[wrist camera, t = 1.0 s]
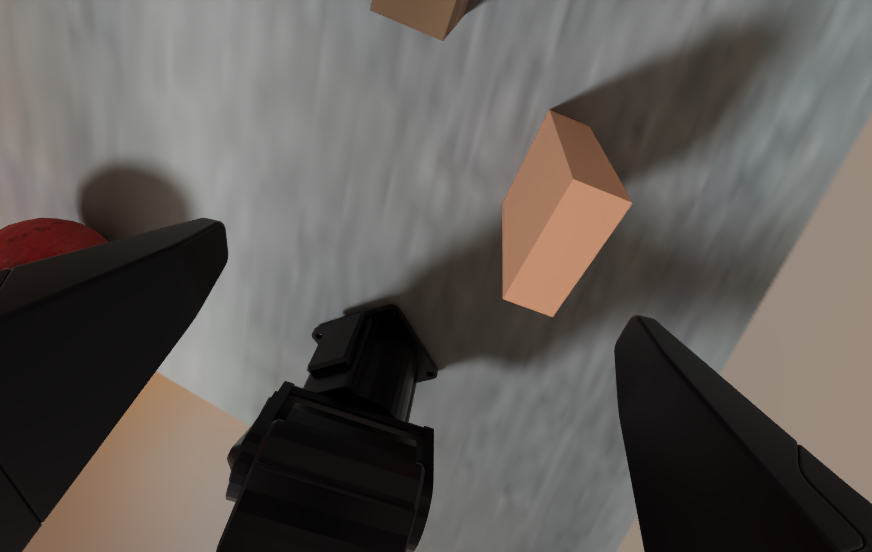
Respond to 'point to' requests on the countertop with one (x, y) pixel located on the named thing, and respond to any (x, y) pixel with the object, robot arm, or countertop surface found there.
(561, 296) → the loose domino
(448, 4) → the domino
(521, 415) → the countertop surface
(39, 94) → the countertop surface
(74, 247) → the pomegranate
